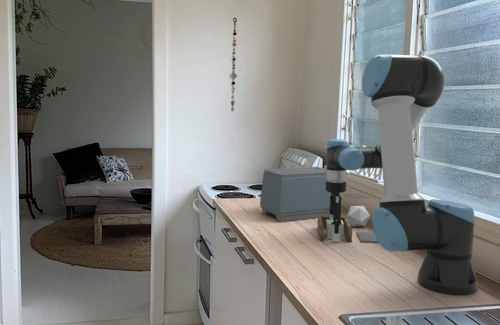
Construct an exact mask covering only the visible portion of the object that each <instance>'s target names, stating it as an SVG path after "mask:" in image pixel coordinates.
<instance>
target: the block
mask: <svg viewBox="0 0 500 325" xmlns="http://www.w3.org/2000/svg"><path fill="white" fill-rule="evenodd" d="M336 221H338V220H336ZM331 222H333V220H326V229H325V237H326V240H332V229H333V225H331ZM344 234H345V232H344V223H343V221H342V220H341V224H340V241H342V240H344Z"/></svg>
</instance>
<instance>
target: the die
mask: <svg viewBox="0 0 500 325" xmlns="http://www.w3.org/2000/svg"><path fill="white" fill-rule="evenodd" d="M346 217H347V219H348V221H349V223H350V225H351V227H352V228H357V227H358V228H359V227H360V228H361V227H362V228H363V227H366V226H367V223H368V221H369V218H370V217H371V214H369V212H368V210H367V209H366V207H365V206H364V205H350V208H349V210H348V212H347V215H346Z"/></svg>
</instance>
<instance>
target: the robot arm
mask: <svg viewBox="0 0 500 325" xmlns="http://www.w3.org/2000/svg"><path fill="white" fill-rule="evenodd" d="M444 76H445V75H444V72H443V69H442V67H441V66H440V64H439V63H438V62H437V61H436V60H435V59H433V58H431V57H430V56H427V55H422V54H420V55H419V54H418V55H414V54H413V55H410V54H409V55H408V54H405V55H404V54H390V53H386V54H376V55H374V56H372V57H371V58H370V59H369V60H368V61H367V63H366V65H365V67H364V69H363V73H362V79H361V90H362V92H363V95H364V96H365V97H367V98H370V99H371V106H372V107H373V108H374V109H375V110H376V111H377V117H378V130H379V140H378V142H377V144H376V145H375V146H357V147H356V146H355V147H353V146H349V144H348V143H349V142H348V140H347V139H341V138H332V139H328V140H327V142H326V148H325V150H326V166H325V167H326V168H325V169H326V180H327V181H326V191H328V192H331V195H330V209H329V211H330V214H331V215H330V220H333V222H331V225H333V229H332V239H331V241H332V242H334V243H340V242H341V240H340V224H341V217H342V197H341V194H340V193H345V192H347V182H346V181H347V176H348V175H349V172H348V171H358V170H360V169H361V170H364V169H366V170H367V169H381V170H382V177H383V192H384V195H383V197H382V198H381V199H380V200H379V207H378V208H376V209H375V210H374V211H373V214H372V216H373V217H372V220H371V221H372V230H373V232H374V233H375V236H376V238H377V240H378V242H379V243H378V244H379V245H380V246H381V247H382V248H383V249H384V250H386V251H388V252H402V253H405V252H410V251H425V255H424V257H423V260H422V262H421V265H420V267H419V270H418V271H417V272H418V273H417V282H418V283H419V284H420V285H421V286H422V287H424V288H426V289H428V290H430V291H434V292H438V293H442V294H447V295H467V294H468V295H469V294H473V293H475V292H476V291H477V290H478V289H477V288H478V279H477V276H476V272H475V269H474V268H475V267H474V264H473V262H472V254H473V242H474V241H473V239H474V227H475V224H476V222H475V211H474V209H473V208H472V207H471V206H469V205H466V204H464V203H458V202H454V201H450V200H444V199H429V201H428V202H427V205H426V204H425V202H426V201H425V198H424V197H422V195H420V194H419V193H418V191H419V190H418V184H417V183H418V180H417V169H416V168H417V167H416V159H415V148H414V135H413V131H414V129H415V128H416V126H417V125H418V124H419V122H420V121H421V120H422V118H423V117H424V115H425V113H426V112H427V110H428V109H429V108H432V107H434V106H435V105H436V104H437V102H438V101H439V99H440V98H441V96H442V93H443V91H444V86H445V77H444ZM336 220H338V221H336Z"/></svg>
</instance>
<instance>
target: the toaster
mask: <svg viewBox="0 0 500 325" xmlns="http://www.w3.org/2000/svg"><path fill="white" fill-rule="evenodd" d="M326 181H327V180H326V168H324V167H320V166H307V167H287V168H286V167H285V168H273V169H272V168H269V169H268V168H267V169H264V170H263V176H262V183H261V192H260V193H261V194H260V201H259V206H260V208H261V213H263V214H262V215H264V214H267V215H275V218H276V221H277V222H280V223H286V222H296V221H306V220H313V219H318V216H330V215H331V214H330V211H329V209H330V195H331V192H328V191H326Z"/></svg>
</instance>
